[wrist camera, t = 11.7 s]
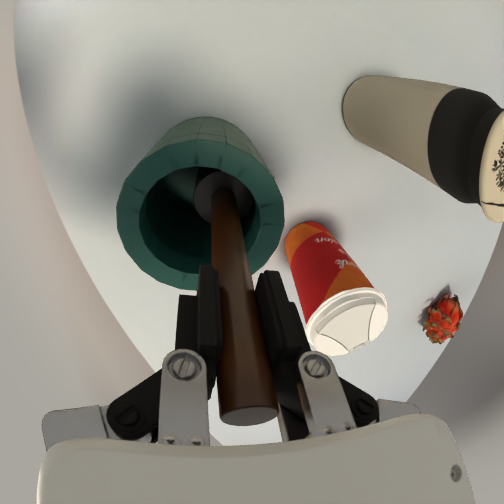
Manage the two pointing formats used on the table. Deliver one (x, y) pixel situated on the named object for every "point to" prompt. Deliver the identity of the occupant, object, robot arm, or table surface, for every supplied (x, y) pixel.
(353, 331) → the paper cup
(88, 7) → the table surface
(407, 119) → the travel mug
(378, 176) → the table surface
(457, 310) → the dragon fruit
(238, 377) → the peg on round base
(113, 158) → the table surface
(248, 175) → the jar
